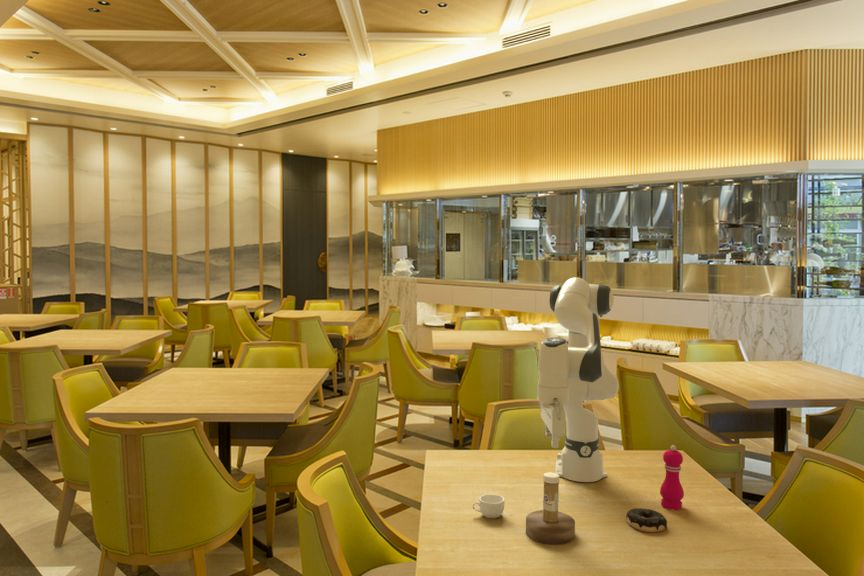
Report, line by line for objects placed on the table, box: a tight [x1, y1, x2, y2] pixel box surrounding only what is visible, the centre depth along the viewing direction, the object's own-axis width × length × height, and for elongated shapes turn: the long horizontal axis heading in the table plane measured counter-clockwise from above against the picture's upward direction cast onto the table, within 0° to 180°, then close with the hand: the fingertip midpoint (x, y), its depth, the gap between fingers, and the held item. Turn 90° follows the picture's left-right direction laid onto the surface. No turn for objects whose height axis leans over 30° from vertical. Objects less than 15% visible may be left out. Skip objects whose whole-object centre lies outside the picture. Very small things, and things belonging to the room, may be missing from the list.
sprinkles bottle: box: [542, 471, 560, 523], centre depth 183 cm, size 5×5×14 cm
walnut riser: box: [525, 509, 576, 546], centre depth 184 cm, size 14×14×4 cm
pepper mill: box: [659, 444, 685, 511], centre depth 204 cm, size 7×7×20 cm
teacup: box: [472, 493, 506, 520], centre depth 196 cm, size 10×8×5 cm
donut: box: [625, 507, 668, 533], centre depth 190 cm, size 11×12×4 cm
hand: (551, 442), depth 182 cm, fingers open, 8 cm apart
